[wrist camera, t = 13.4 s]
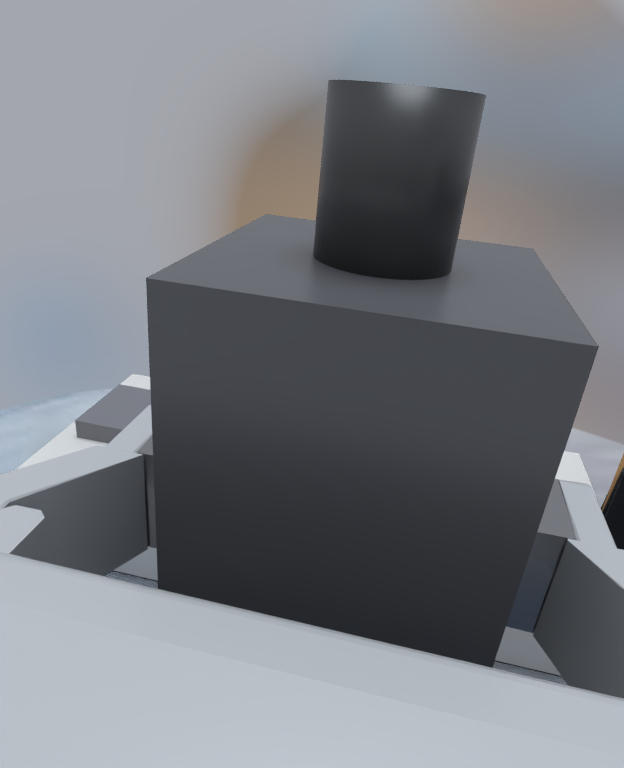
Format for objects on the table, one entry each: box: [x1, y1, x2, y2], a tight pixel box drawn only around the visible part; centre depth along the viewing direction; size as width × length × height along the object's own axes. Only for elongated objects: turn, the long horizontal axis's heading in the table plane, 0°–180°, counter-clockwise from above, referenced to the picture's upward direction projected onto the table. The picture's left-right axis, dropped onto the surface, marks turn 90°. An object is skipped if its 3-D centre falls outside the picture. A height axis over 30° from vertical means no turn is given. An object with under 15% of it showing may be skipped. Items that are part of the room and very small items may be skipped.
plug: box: [146, 80, 599, 668], centre depth 10 cm, size 5×5×15 cm
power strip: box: [16, 374, 595, 676], centre depth 25 cm, size 22×9×5 cm, turn 78°
